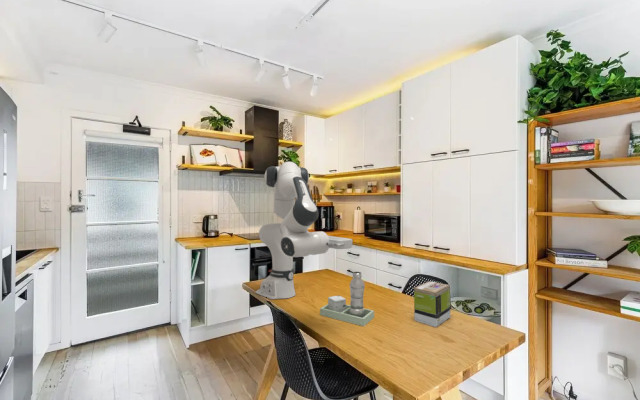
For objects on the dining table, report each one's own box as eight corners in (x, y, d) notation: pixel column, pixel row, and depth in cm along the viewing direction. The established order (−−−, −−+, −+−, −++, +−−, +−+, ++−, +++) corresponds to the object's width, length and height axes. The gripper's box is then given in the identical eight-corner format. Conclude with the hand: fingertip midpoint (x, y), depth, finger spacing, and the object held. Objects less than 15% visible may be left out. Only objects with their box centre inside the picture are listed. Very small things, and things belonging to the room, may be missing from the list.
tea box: (429, 311, 139) (429, 280, 139) (451, 318, 131) (451, 284, 131) (413, 320, 128) (413, 286, 128) (436, 328, 121) (436, 291, 121)
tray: (320, 315, 133) (320, 308, 133) (332, 307, 143) (332, 301, 143) (363, 326, 122) (363, 319, 122) (374, 317, 131) (374, 310, 131)
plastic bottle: (347, 315, 132) (347, 271, 132) (362, 315, 133) (362, 270, 133) (350, 321, 126) (350, 274, 126) (366, 321, 127) (366, 274, 127)
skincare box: (334, 317, 131) (334, 300, 131) (327, 312, 136) (327, 296, 136) (345, 315, 134) (346, 298, 134) (339, 310, 139) (339, 294, 139)
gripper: (337, 237, 110) (361, 234, 119) (303, 232, 125) (326, 230, 134) (337, 254, 110) (361, 250, 119) (302, 247, 125) (326, 244, 134)
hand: (342, 239), depth 127 cm, fingers open, 8 cm apart
